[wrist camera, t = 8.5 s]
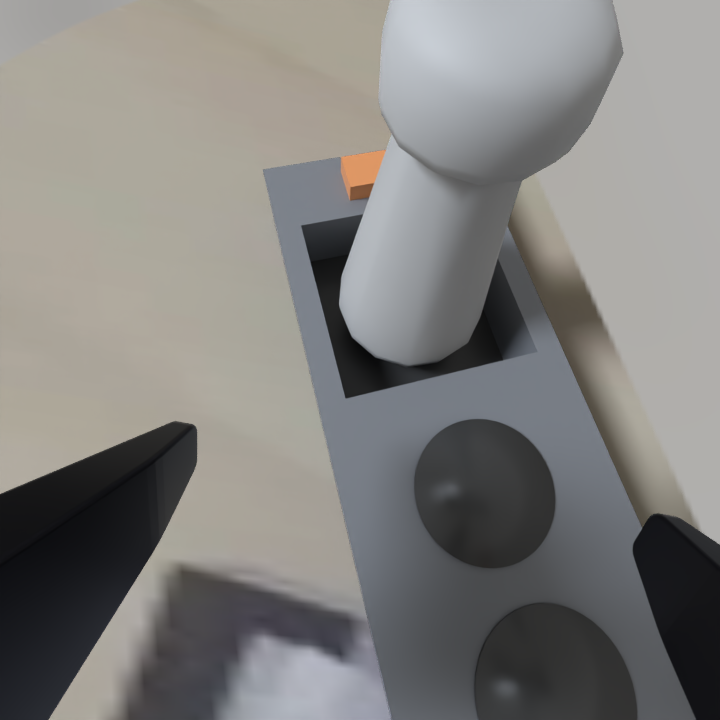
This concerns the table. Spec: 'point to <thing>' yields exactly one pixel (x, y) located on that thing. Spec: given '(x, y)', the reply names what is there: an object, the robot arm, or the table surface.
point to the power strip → (473, 495)
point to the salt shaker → (464, 156)
